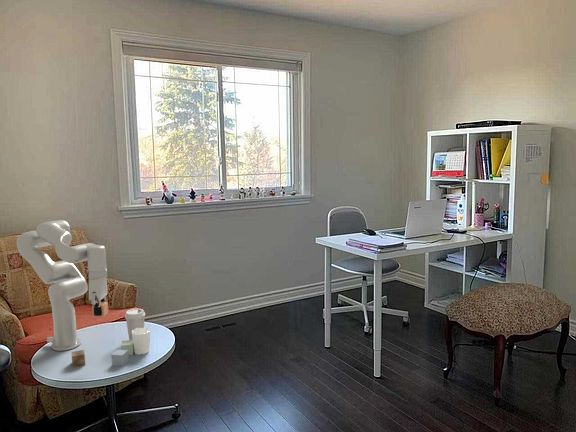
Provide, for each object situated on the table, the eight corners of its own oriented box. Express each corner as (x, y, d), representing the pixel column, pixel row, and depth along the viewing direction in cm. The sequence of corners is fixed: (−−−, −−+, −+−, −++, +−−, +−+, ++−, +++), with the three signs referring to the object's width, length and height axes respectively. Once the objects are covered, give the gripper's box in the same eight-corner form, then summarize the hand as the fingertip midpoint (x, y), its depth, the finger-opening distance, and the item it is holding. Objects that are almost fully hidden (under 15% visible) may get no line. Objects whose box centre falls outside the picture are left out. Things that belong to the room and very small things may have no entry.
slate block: (112, 365, 195) (111, 354, 194) (118, 360, 200) (117, 349, 199) (122, 366, 194) (122, 355, 194) (128, 360, 199) (128, 350, 198)
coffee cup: (140, 345, 214) (138, 315, 212) (122, 344, 216) (120, 314, 214) (150, 337, 223) (148, 308, 221) (132, 336, 225) (131, 307, 223)
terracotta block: (92, 316, 198) (91, 305, 198) (97, 312, 203) (96, 301, 203) (104, 316, 199) (103, 305, 198) (108, 312, 203) (107, 301, 203)
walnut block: (72, 367, 193) (71, 356, 193) (72, 362, 198) (71, 351, 197) (85, 365, 196) (84, 354, 195) (84, 360, 200) (84, 349, 199)
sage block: (121, 356, 204) (120, 345, 203) (122, 351, 209) (122, 341, 208) (133, 354, 205) (132, 344, 204) (134, 350, 210) (133, 339, 209)
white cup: (135, 348, 212) (133, 328, 210) (152, 347, 212) (151, 327, 211) (130, 355, 204) (129, 334, 202) (148, 355, 205) (147, 334, 203)
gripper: (96, 268, 207) (99, 306, 209) (80, 279, 190) (83, 320, 192) (113, 268, 207) (115, 306, 209) (98, 279, 190) (101, 320, 193)
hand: (100, 312), depth 201 cm, fingers closed on terracotta block, 4 cm apart
